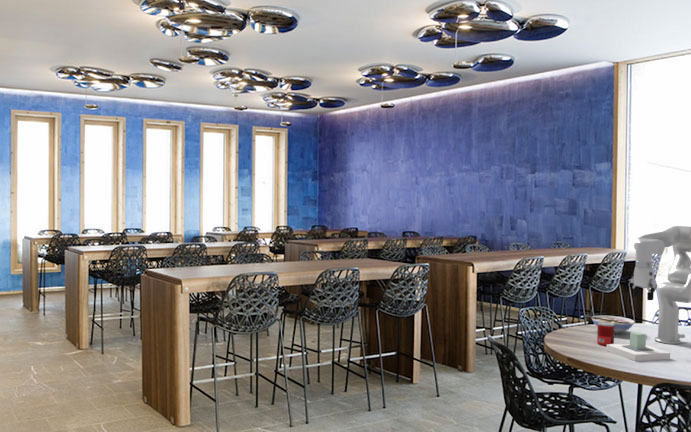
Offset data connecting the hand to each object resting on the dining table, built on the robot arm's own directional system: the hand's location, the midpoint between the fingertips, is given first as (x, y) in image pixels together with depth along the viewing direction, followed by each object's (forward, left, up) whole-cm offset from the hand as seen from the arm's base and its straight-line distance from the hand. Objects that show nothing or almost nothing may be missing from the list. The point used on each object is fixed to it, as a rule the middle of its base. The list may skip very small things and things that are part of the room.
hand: (643, 298), depth 321 cm
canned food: (+14, -10, -26) cm, 31 cm away
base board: (+12, +11, -26) cm, 30 cm away
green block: (+12, +11, -22) cm, 27 cm away
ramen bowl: (-10, -35, -26) cm, 44 cm away
